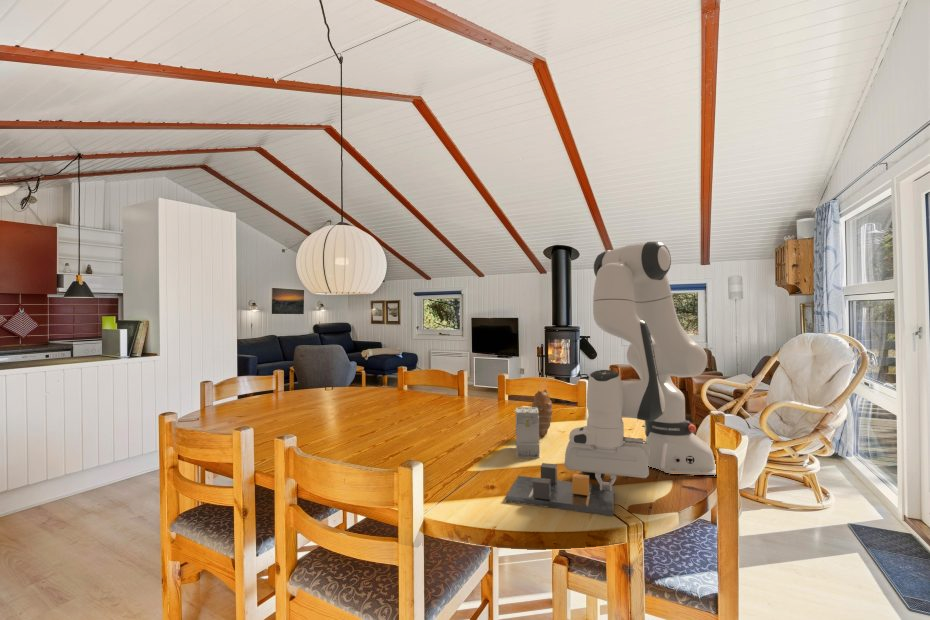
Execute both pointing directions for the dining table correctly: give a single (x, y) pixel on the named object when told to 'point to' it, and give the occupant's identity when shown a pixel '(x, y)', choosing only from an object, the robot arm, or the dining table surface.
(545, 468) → the toggle
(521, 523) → the dining table surface
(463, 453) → the dining table surface
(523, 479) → the panel
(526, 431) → the circuit breaker
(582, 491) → the toggle
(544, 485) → the toggle
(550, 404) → the brown ribbed ovoid
